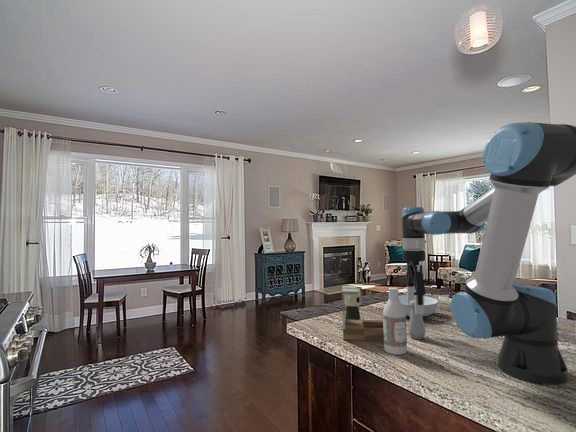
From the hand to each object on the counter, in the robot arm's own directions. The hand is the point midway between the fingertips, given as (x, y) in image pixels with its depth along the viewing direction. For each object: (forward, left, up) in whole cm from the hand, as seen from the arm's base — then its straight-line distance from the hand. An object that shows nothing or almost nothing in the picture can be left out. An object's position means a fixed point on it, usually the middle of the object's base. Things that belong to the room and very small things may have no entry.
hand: (415, 308), depth 116 cm
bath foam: (-15, +9, -10) cm, 20 cm away
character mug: (+19, +22, -10) cm, 30 cm away
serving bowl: (+31, -5, -10) cm, 33 cm away
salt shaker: (0, 0, -10) cm, 10 cm away
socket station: (0, +18, -10) cm, 20 cm away
